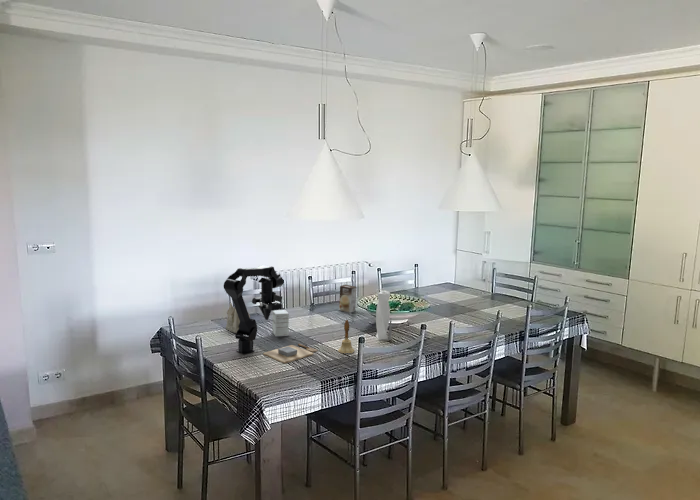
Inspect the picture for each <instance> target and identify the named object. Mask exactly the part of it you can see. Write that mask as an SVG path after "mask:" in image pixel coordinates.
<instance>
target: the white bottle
mask: <svg viewBox="0 0 700 500" xmlns="http://www.w3.org/2000/svg"><path fill="white" fill-rule="evenodd" d="M378 291H380V292H378ZM376 293H377V301H378V302H377V305H376V312H375V327H376V335H375V338H376V340H378V341H379V342H389V340H392V331H393V330H392V329H393V327H392V326H393V325H392V319H391V316H390V315H391V309H390V304H389V299H390V296H391V291H389V290H384V289H381V288H376ZM387 332H388V334H387Z"/></svg>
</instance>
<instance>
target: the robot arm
mask: <svg viewBox="0 0 700 500" xmlns="http://www.w3.org/2000/svg"><path fill="white" fill-rule="evenodd" d="M240 277H241V279H240V280H238V279H239V278H240ZM249 277H261V278H260V279H259V280H258V283H260V284H261V286H260V287H261V290H260V291H259V295H261V296H257V297H256V296H255V297H253V298H252V300H251V304H253V305H257V303H259V305H258V306H257V307H258V308H259V310H260V312H261V313H262V315H263V318H264V319H265V321H268V320H269V318H270V315H271V312H273V311H275V310H283V304H282V300H283V296H282V295H279V294H277V293H276V292H275V291H273V290H274V289H276V288H279V287H282V286H284V278H283V277H282V276H281V273H277V271H276V269H275V267H274V266H270V265H266V264H265V265H263V264H262V265H259V266H258V267H246V268H245V267H238V268H237V269H236V271H234V272H232V273H231V274H230V275H229V276H228V277H227V278H226V279H225V281H224V283H223V289H224V291H225V294H227V295H228V296H229V297H230V298H231V301H232V303H233V307H234V308H235V309H236V312H237V314H238V317H239V320H240V323H239V329H238V331H237V333H234V334H235V335H234V337H235V339H236V340H237V341H238V345H237V346H238V347H237V348H238V349H235V350H236V352H238V353H239V354H242V355H246V354H250V353H253V352H255V349H254V341H255V340H256V339H257V332H258V325H257V320H256V318H255V319H254V318H251V316H250V317H249V315H250V314H248V313H249V311H248V309H247V306H246V303H245V300H244V297H243V293H244V286H245V285H246V284H247V278H249Z"/></svg>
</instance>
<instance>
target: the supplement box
mask: <svg viewBox="0 0 700 500" xmlns="http://www.w3.org/2000/svg"><path fill="white" fill-rule="evenodd" d="M289 316H290V313H289V312H288V311H287V310H286V309H280V310H275V311H272V331H271V332H272V334H273V335H274V336H275V337H288V336H289V324H290V322H289V321H290V320H289V319H290V317H289Z"/></svg>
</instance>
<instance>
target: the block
mask: <svg viewBox="0 0 700 500" xmlns="http://www.w3.org/2000/svg"><path fill="white" fill-rule="evenodd" d="M288 346H289V345H287V347H286V346H283V347H284V348H282V347H279V348H280V349H279V348H277V349H278V353H280V354H282V355H284V356H287V357H289V356H292V355H295V354H297V350H296V349H293V348H291V347H288Z"/></svg>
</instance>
